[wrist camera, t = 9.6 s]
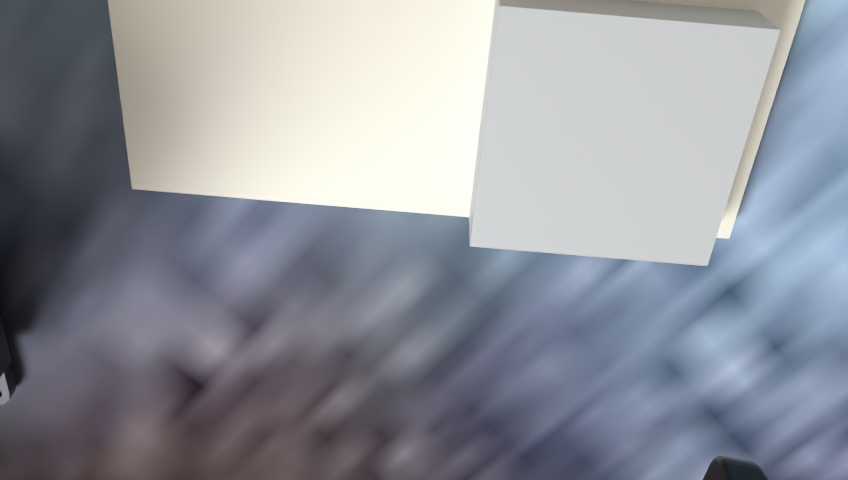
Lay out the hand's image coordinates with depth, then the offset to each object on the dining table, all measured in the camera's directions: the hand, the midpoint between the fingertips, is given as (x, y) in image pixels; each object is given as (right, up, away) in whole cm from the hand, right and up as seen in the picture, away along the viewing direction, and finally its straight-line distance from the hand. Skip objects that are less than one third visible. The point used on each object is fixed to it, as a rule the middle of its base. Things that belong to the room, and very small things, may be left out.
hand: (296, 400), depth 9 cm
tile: (+2, +8, +10) cm, 13 cm away
